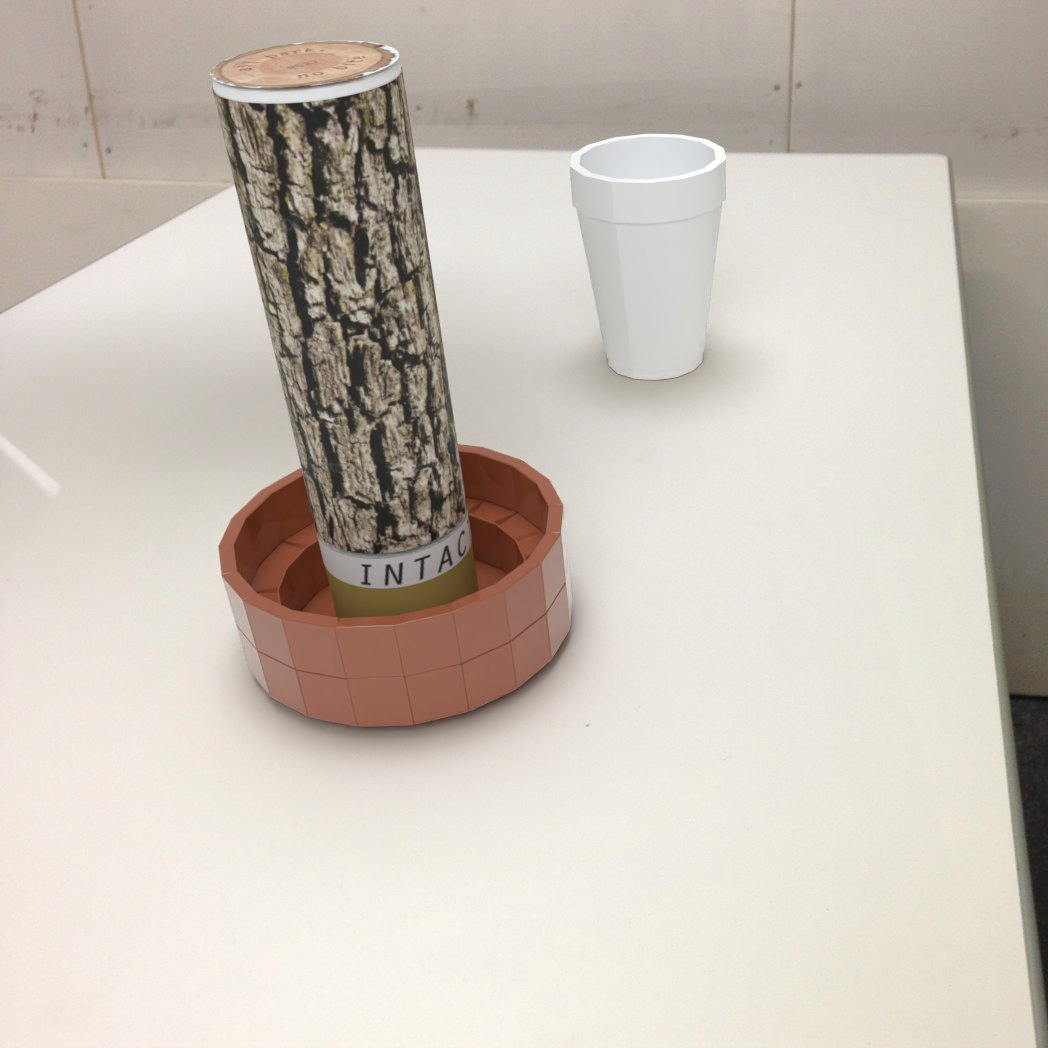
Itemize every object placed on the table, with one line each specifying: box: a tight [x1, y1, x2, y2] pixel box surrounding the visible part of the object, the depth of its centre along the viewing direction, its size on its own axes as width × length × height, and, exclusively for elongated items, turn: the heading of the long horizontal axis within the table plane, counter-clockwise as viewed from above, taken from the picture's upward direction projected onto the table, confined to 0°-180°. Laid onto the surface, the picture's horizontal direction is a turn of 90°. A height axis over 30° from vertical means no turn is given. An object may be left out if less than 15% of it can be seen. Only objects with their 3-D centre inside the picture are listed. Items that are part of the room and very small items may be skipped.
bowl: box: [217, 443, 573, 728], centre depth 60 cm, size 15×15×6 cm
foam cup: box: [568, 133, 727, 381], centre depth 80 cm, size 10×9×13 cm
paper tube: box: [209, 39, 479, 618], centre depth 54 cm, size 7×7×25 cm
